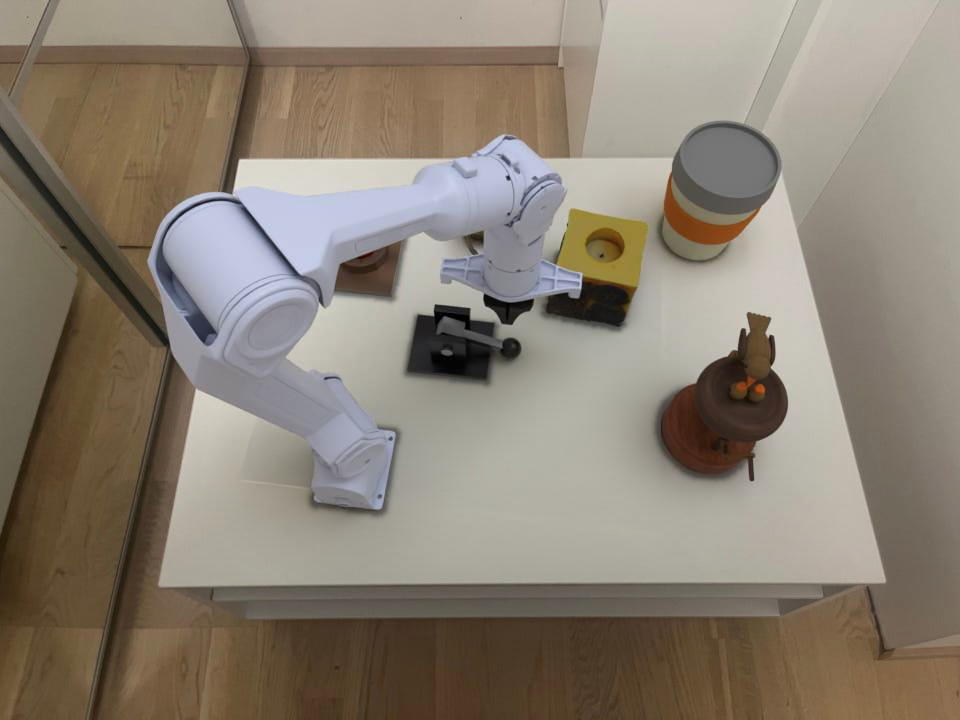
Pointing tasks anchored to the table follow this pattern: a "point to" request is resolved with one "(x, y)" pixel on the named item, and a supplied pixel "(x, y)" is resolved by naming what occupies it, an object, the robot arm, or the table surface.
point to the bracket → (449, 346)
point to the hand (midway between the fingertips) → (507, 317)
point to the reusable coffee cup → (717, 187)
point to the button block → (370, 272)
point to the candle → (600, 266)
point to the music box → (728, 406)
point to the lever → (480, 338)
